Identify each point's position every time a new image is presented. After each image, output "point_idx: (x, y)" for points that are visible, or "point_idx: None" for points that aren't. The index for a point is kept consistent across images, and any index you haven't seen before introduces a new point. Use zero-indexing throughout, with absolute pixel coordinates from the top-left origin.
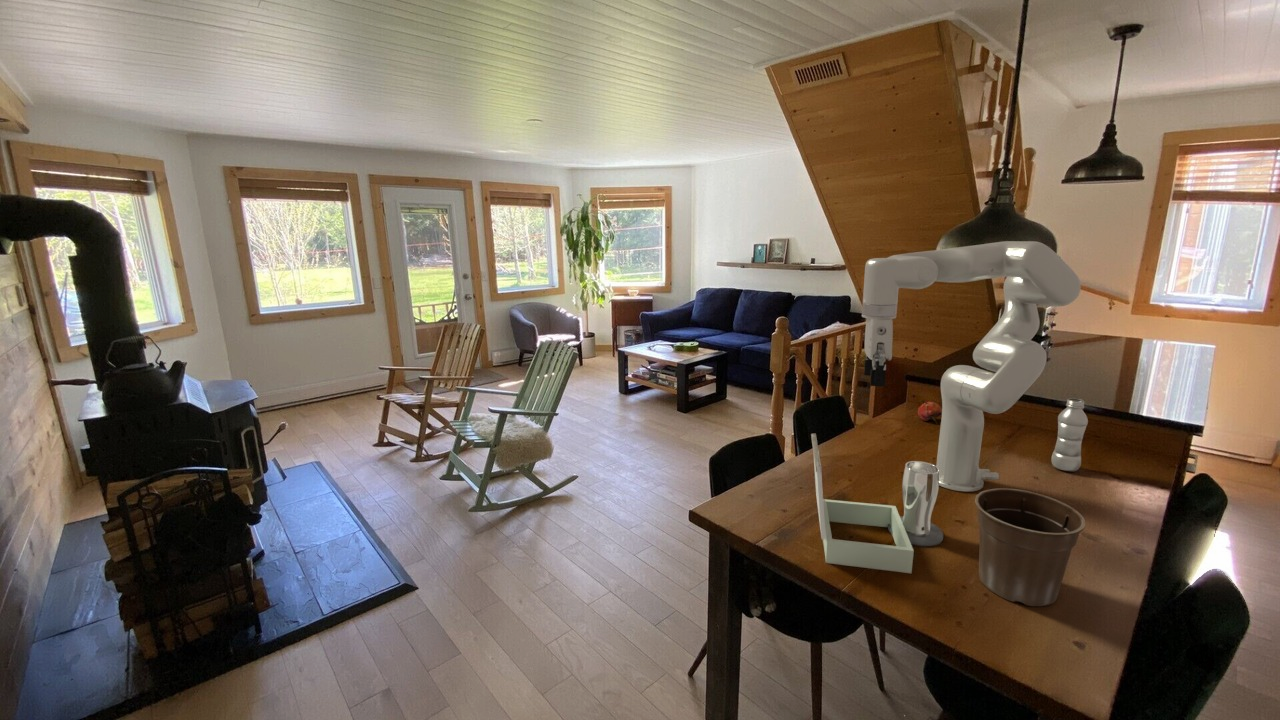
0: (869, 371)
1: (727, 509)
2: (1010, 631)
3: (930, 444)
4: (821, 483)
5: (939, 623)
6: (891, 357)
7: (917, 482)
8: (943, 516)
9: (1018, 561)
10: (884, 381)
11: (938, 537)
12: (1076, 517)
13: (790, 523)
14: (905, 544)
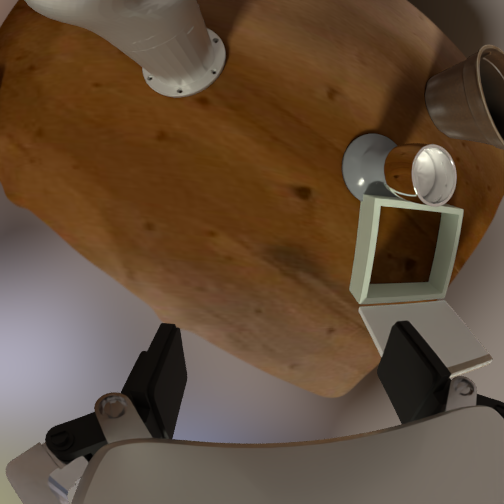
0: (181, 377)
1: (329, 381)
2: (491, 151)
3: (50, 91)
4: (480, 344)
5: (489, 204)
6: (498, 413)
7: (442, 190)
8: (321, 110)
9: (501, 129)
10: (417, 335)
11: (391, 145)
12: (501, 55)
13: (361, 322)
14: (453, 213)
